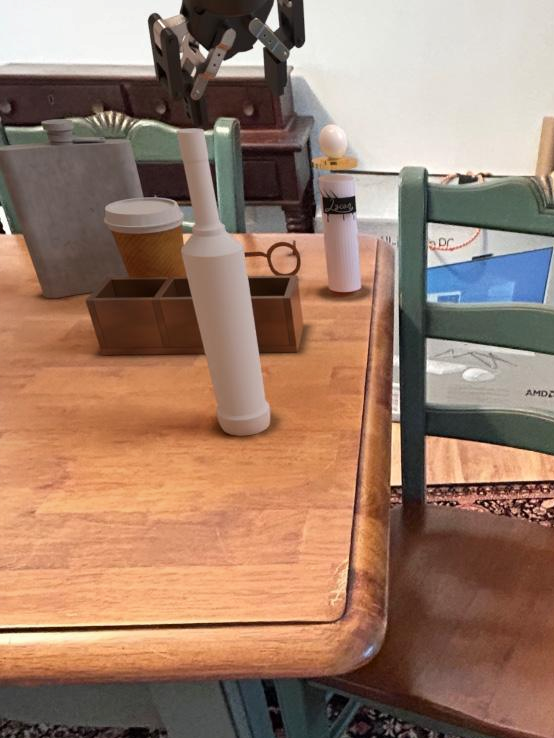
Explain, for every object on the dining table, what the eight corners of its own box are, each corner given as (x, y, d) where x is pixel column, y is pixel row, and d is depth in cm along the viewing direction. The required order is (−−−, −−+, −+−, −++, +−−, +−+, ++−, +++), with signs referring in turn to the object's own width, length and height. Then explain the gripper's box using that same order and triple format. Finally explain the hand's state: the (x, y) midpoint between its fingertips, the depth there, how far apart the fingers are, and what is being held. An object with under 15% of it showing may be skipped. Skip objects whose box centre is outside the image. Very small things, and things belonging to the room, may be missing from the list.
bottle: (209, 423, 73) (143, 129, 57) (254, 407, 76) (203, 123, 60) (236, 442, 71) (174, 139, 54) (282, 425, 73) (236, 131, 57)
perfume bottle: (323, 286, 105) (306, 121, 92) (363, 284, 106) (352, 120, 93) (326, 300, 101) (309, 128, 87) (368, 297, 101) (357, 127, 88)
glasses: (210, 285, 105) (202, 248, 102) (211, 258, 114) (205, 223, 111) (303, 279, 107) (298, 242, 104) (297, 253, 117) (292, 219, 113)
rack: (102, 355, 86) (85, 300, 82) (121, 329, 92) (106, 277, 88) (297, 352, 87) (290, 298, 83) (303, 327, 93) (297, 275, 89)
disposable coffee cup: (204, 290, 103) (184, 195, 95) (198, 314, 96) (177, 213, 88) (133, 294, 102) (108, 197, 94) (122, 318, 95) (93, 216, 87)
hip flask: (44, 299, 100) (-16, 126, 87) (43, 290, 103) (-15, 121, 90) (165, 285, 105) (125, 119, 92) (161, 276, 108) (122, 114, 94)
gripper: (267, -143, 58) (275, 52, 73) (105, -87, 54) (150, 107, 69) (325, -75, 57) (321, 107, 73) (166, -14, 53) (198, 165, 69)
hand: (237, 107), depth 71 cm, fingers open, 8 cm apart
